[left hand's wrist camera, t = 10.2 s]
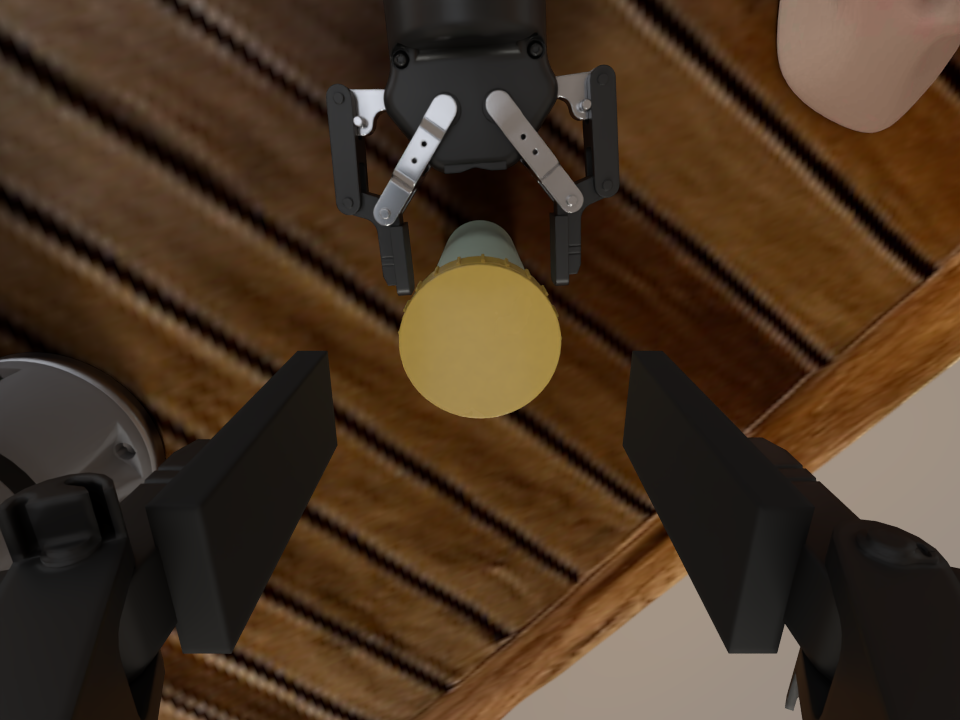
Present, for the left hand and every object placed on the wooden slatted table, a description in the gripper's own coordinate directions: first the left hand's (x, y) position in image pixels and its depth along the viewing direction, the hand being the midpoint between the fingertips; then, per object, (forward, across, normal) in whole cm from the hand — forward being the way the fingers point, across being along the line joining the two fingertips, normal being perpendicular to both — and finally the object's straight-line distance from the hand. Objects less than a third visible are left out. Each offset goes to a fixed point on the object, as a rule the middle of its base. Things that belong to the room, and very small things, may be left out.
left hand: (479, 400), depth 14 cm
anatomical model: (+23, +22, +14) cm, 35 cm away
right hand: (+16, 0, -1) cm, 16 cm away
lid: (+5, 0, 0) cm, 5 cm away
